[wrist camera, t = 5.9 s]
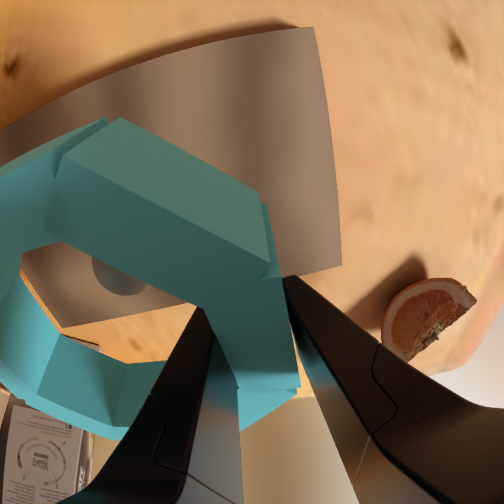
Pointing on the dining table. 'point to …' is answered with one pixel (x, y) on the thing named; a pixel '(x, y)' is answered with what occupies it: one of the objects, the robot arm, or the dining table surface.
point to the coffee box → (42, 454)
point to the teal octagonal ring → (139, 270)
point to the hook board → (203, 155)
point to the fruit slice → (423, 314)
